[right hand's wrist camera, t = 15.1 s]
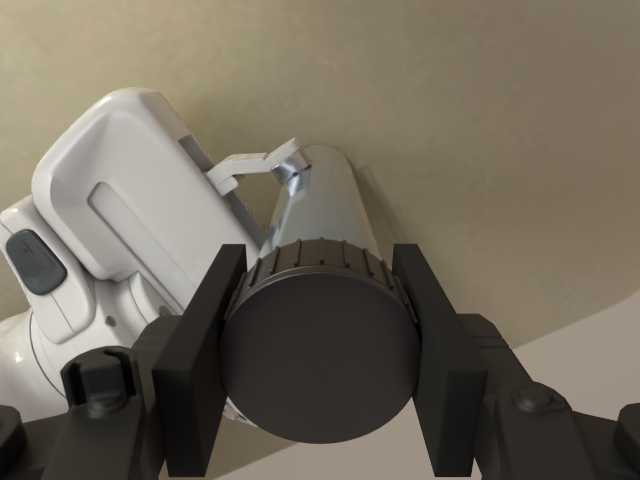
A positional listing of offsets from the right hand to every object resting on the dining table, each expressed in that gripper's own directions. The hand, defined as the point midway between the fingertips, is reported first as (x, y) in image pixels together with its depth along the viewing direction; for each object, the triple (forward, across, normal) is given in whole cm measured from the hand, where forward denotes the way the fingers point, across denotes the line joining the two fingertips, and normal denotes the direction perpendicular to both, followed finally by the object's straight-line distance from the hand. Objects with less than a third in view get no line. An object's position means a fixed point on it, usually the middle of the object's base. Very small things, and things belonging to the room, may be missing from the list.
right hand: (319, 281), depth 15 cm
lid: (-4, 0, 0) cm, 4 cm away
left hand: (+9, -1, 0) cm, 9 cm away
